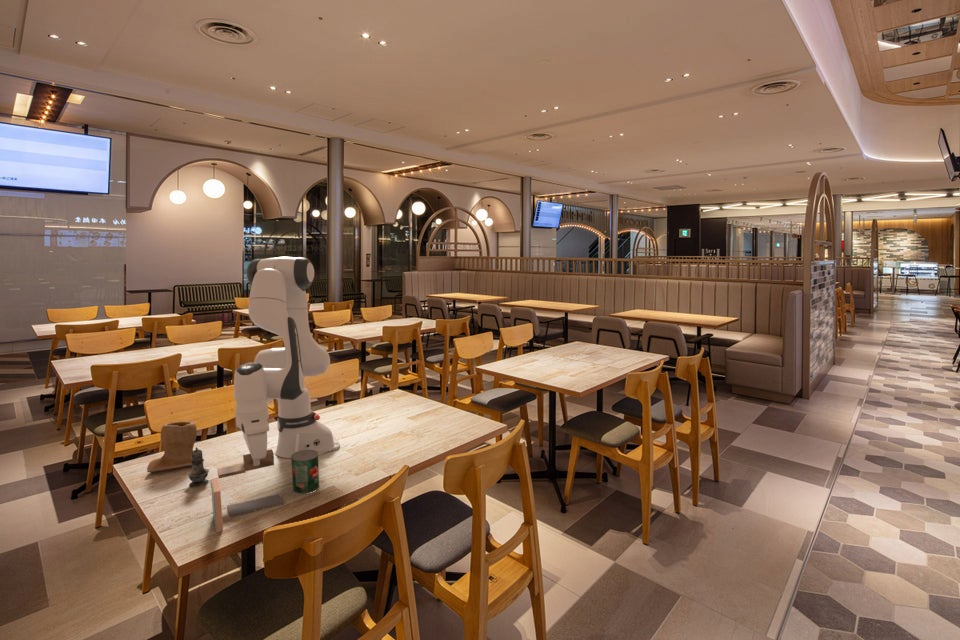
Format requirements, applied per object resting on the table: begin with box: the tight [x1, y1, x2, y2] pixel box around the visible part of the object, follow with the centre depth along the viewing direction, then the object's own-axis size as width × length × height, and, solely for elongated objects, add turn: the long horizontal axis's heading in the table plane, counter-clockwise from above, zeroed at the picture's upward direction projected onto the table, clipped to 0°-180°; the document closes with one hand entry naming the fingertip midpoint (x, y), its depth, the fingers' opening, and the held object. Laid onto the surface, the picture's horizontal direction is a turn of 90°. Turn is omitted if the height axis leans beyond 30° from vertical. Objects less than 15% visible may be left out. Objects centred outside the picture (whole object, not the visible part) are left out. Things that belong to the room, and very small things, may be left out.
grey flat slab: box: [227, 493, 284, 518], centre depth 141 cm, size 14×6×1 cm, turn 123°
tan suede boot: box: [146, 421, 197, 473], centre depth 166 cm, size 15×12×15 cm
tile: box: [210, 477, 224, 532], centre depth 131 cm, size 2×9×11 cm, turn 33°
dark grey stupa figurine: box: [187, 447, 210, 488], centre depth 153 cm, size 6×6×12 cm
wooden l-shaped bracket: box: [216, 448, 275, 479], centre depth 145 cm, size 15×4×4 cm, turn 123°
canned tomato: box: [290, 450, 320, 495], centre depth 151 cm, size 8×8×11 cm
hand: (255, 461), depth 146 cm, fingers closed on wooden l-shaped bracket, 3 cm apart
